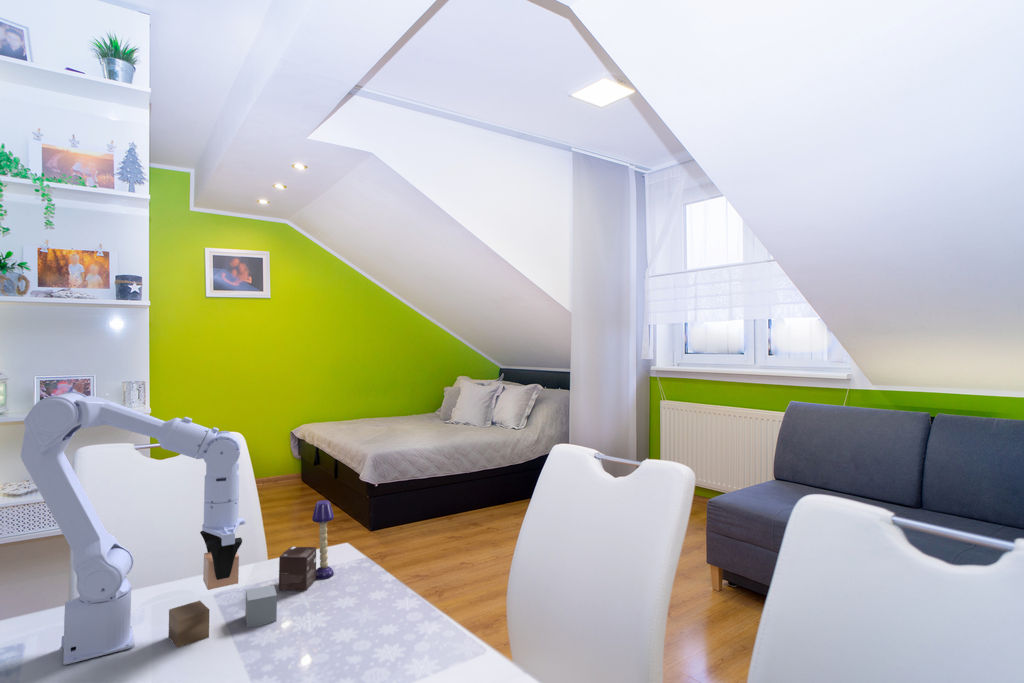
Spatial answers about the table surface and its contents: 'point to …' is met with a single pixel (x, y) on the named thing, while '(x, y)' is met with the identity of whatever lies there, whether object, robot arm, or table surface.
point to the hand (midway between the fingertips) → (220, 572)
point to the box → (297, 568)
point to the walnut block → (188, 623)
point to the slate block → (261, 606)
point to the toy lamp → (323, 536)
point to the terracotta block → (209, 573)
